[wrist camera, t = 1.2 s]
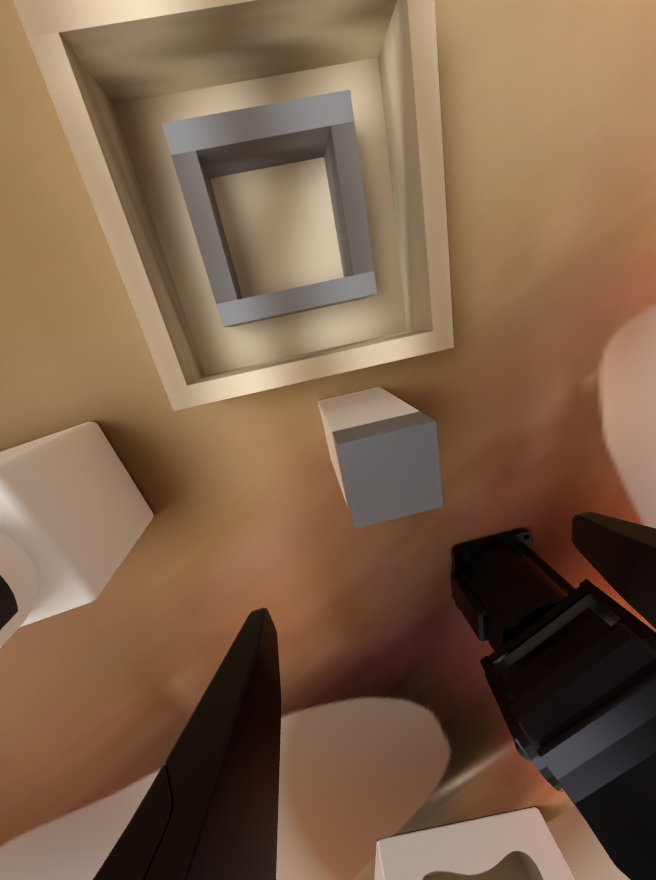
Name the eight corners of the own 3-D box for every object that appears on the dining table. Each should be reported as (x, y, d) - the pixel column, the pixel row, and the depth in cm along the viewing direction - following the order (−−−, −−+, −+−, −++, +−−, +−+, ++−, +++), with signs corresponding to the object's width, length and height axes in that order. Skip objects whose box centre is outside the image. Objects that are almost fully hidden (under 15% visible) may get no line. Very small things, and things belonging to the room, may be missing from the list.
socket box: (393, 31, 14) (430, -71, 11) (422, 344, 19) (454, 347, 16) (84, 84, 14) (10, -5, 10) (195, 394, 18) (173, 410, 15)
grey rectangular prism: (379, 386, 20) (436, 420, 12) (387, 444, 21) (443, 506, 14) (317, 400, 20) (337, 444, 12) (330, 458, 21) (354, 528, 13)
